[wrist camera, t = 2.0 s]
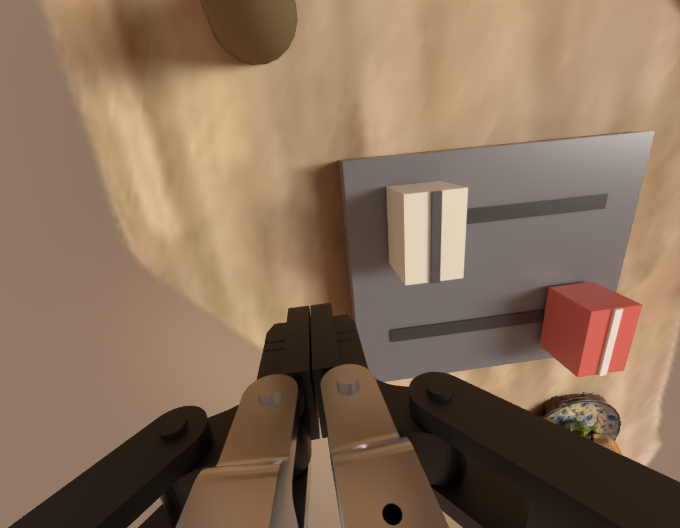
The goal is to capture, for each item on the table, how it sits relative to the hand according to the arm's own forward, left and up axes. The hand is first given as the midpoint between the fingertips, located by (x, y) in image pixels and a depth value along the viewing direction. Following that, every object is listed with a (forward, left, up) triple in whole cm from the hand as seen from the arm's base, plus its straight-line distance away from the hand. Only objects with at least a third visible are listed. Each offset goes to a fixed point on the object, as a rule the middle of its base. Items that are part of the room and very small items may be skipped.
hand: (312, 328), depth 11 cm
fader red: (+10, +22, -13) cm, 27 cm away
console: (+5, +15, -16) cm, 23 cm away
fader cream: (0, +8, -13) cm, 15 cm away
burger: (+29, +28, -17) cm, 44 cm away
